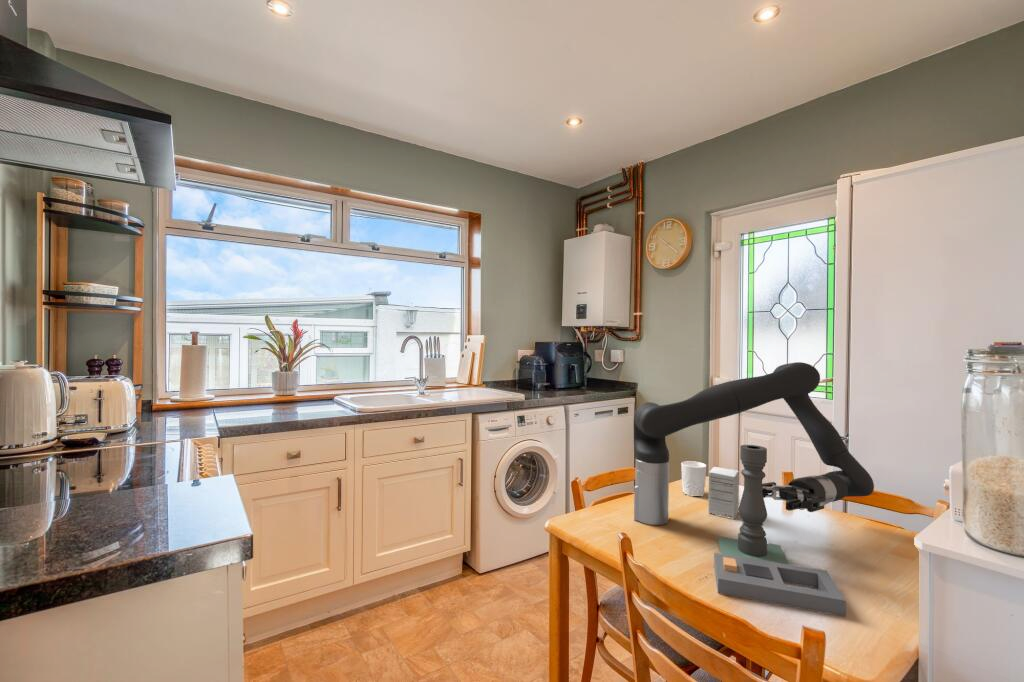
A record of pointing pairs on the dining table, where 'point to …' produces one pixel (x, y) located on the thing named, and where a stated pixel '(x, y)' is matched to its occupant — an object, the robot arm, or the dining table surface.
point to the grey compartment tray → (778, 584)
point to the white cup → (693, 477)
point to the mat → (731, 548)
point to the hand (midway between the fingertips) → (770, 500)
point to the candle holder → (753, 502)
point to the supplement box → (723, 492)
